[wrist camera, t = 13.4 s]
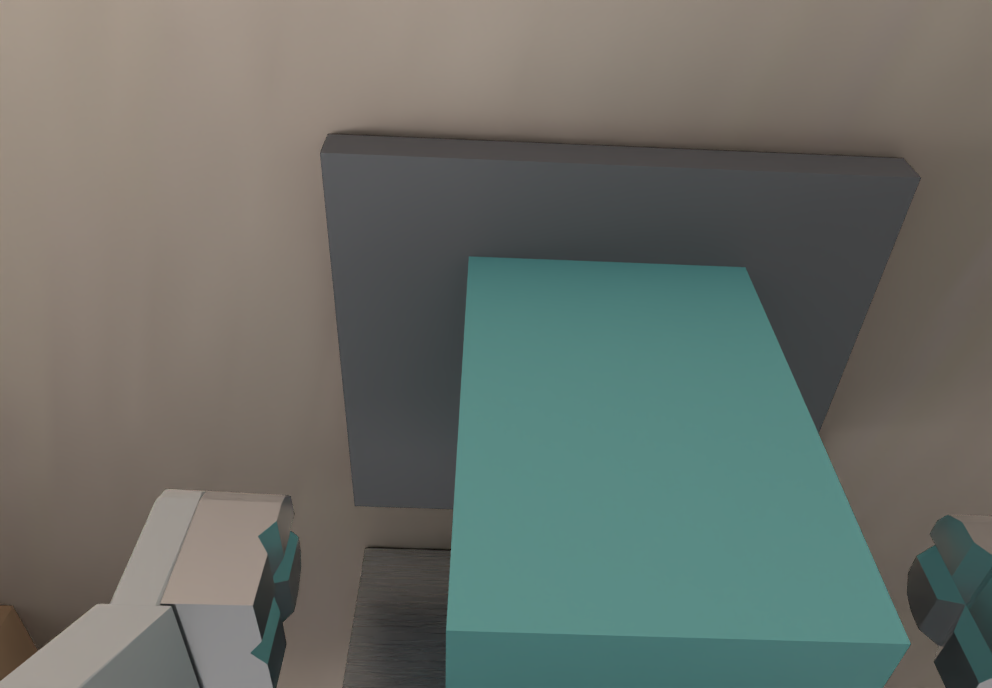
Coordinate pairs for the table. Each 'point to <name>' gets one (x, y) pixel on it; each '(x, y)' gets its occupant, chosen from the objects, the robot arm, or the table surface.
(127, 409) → the table surface
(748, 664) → the teal block
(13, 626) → the walnut block
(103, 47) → the table surface
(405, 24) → the table surface
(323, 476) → the table surface
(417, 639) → the block
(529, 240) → the pad
